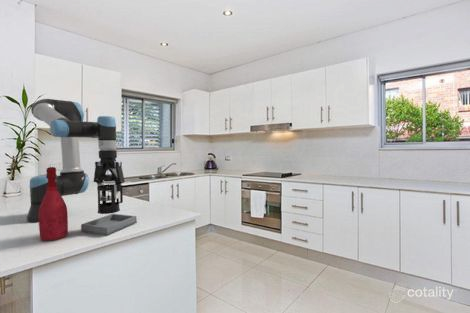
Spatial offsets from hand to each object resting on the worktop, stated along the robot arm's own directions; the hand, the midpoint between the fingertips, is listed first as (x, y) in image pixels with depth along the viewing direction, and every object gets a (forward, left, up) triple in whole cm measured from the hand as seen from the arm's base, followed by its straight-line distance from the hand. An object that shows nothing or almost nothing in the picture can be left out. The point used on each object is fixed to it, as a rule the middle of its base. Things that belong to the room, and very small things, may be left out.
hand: (109, 197), depth 116 cm
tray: (0, 0, -14) cm, 14 cm away
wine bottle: (-13, -17, -15) cm, 26 cm away
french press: (0, 0, -7) cm, 7 cm away
